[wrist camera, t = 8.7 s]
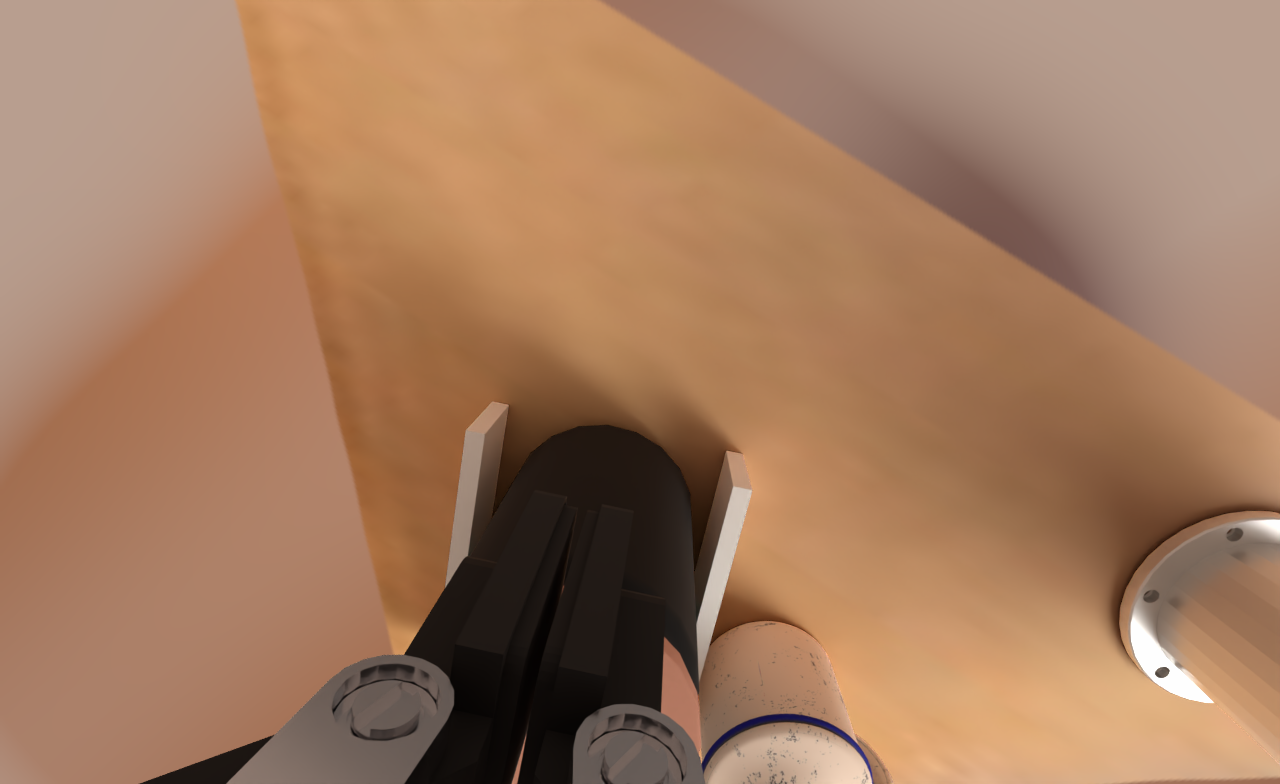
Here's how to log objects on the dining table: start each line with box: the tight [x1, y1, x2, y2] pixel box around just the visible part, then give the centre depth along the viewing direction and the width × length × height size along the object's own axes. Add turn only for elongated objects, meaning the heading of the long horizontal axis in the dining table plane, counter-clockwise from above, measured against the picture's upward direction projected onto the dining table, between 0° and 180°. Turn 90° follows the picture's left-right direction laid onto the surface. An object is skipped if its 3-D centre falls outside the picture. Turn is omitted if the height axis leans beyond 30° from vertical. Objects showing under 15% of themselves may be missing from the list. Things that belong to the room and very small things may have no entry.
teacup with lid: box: [699, 621, 894, 784], centre depth 37 cm, size 12×9×12 cm
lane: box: [445, 401, 752, 681], centre depth 34 cm, size 15×17×14 cm
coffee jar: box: [470, 425, 701, 784], centre depth 31 cm, size 11×11×18 cm
